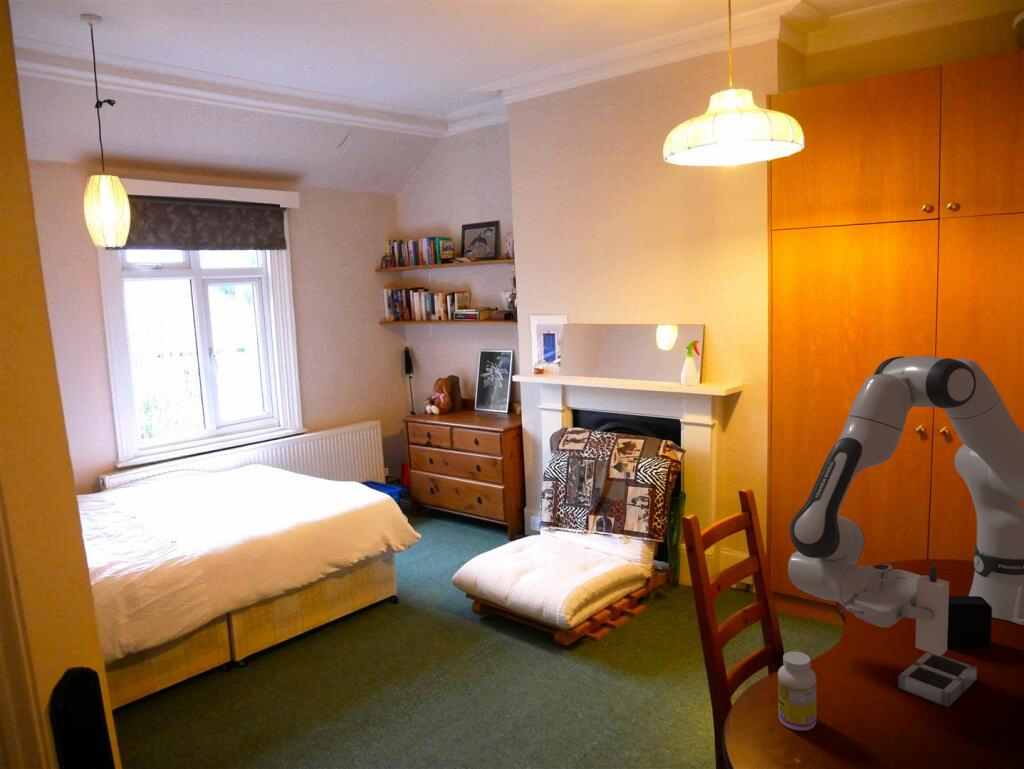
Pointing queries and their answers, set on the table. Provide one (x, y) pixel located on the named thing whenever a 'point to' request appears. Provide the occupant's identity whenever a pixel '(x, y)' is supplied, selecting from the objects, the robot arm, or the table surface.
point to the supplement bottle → (797, 692)
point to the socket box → (937, 679)
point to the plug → (935, 630)
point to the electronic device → (969, 622)
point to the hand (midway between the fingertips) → (937, 611)
